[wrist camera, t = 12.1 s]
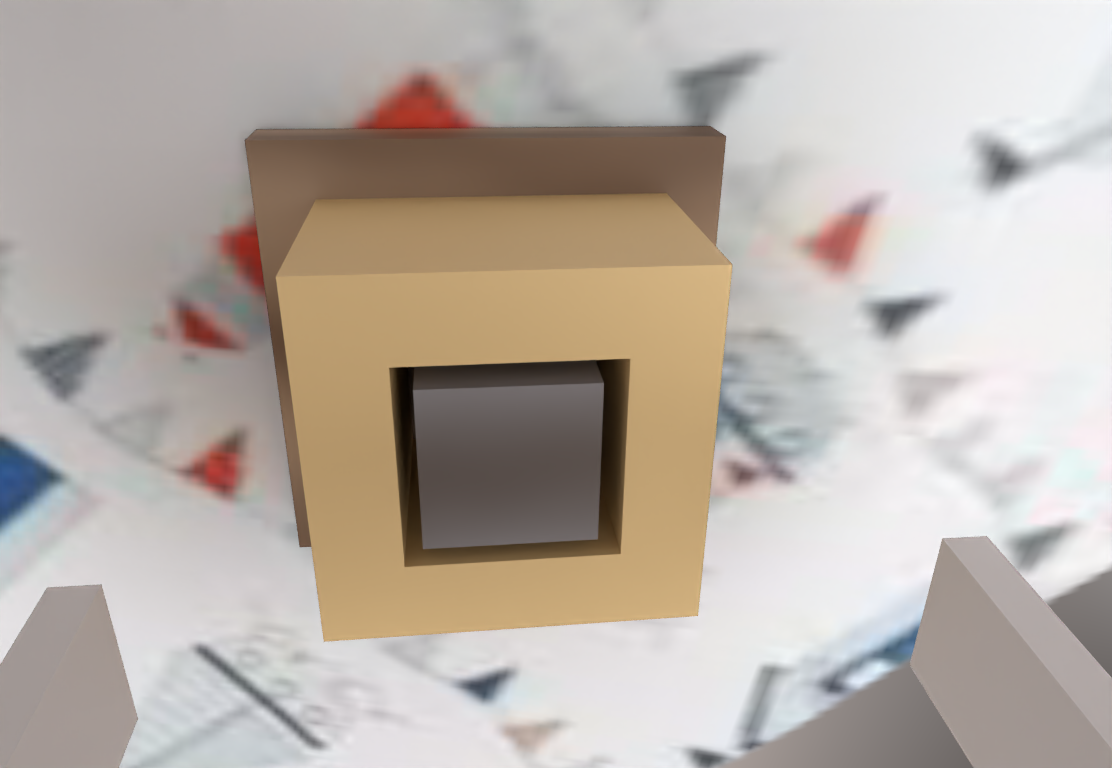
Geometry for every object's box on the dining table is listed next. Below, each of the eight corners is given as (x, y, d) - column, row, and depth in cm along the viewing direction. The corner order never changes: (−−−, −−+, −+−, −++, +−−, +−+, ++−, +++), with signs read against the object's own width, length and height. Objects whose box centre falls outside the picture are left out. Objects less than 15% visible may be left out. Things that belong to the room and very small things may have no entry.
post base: (256, 129, 23) (179, 201, 16) (710, 126, 24) (811, 192, 18) (306, 519, 28) (263, 695, 22) (678, 499, 30) (747, 660, 23)
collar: (315, 199, 23) (275, 276, 17) (666, 193, 24) (731, 264, 18) (348, 501, 26) (323, 641, 21) (648, 485, 27) (698, 616, 22)
